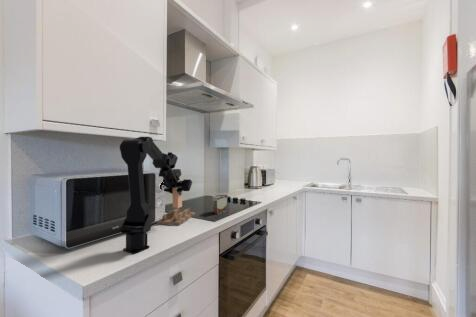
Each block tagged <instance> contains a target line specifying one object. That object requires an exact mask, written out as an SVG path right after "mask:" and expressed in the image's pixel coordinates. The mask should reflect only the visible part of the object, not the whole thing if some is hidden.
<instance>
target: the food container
mask: <svg viewBox="0 0 476 317" xmlns="http://www.w3.org/2000/svg"><path fill="white" fill-rule="evenodd" d="M211 198H212V199H211V201H212V203H213V213H214V214H215V215H220V214H222V212H223V213H225V212H228V211H227V209H228V208H227V207H228V198H229V196H228V194H215V195H212V197H211ZM219 213H220V214H219Z"/></svg>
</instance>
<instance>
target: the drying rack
mask: <svg viewBox="0 0 476 317" xmlns="http://www.w3.org/2000/svg"><path fill="white" fill-rule="evenodd" d="M181 208H182V207H180V208H174V209H173V210H171V211H169V212H167V213H165V214H163V215H162V216H161V219H159V220H157V221H156V224H157V225H169V226H170V225H171V226H181V225H182V224H184V223H186V222H187V221H188V220H190V219H191V218H192V217H194V216H195V215H196V212H194V211H191V207H188V208H186V209H184V210H182V211H181ZM193 215H194V216H193Z"/></svg>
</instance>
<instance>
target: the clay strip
mask: <svg viewBox="0 0 476 317" xmlns="http://www.w3.org/2000/svg"><path fill="white" fill-rule="evenodd" d="M177 189H178V187H176V188H172V193H173V194H172V209H177V208H182V207H183V194H182V195H180V194H179V193H178V192H177Z"/></svg>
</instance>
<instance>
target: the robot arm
mask: <svg viewBox="0 0 476 317" xmlns="http://www.w3.org/2000/svg"><path fill="white" fill-rule="evenodd" d="M119 152H120V155H121V156H120V157H121V159H122V160H123V161H124V163H125V164H126V165H127V166H126V167H127V174H128V175H127V177H128V187H129V188H128V191H129V200H130V201H129V202H130V205H129V207H128V209H127V210H126V211H125V212H126V216H125V218H124V221H123V223H122V225H121V227H120V232H121V235H123V234H125V247H124V248H123V249H122V251H125V252H127V253H130V254H137V253H139V252H141V251H145V250H146V249H149V248H150V245H148V233H149V231H151V228H152V222H153V213H152V205H151V204H150V203H149V204H148V203H147V202H146V195H145V194H146V193H145V183H144V180H145V179H144V169H143V168H144V167H143V164H144V161H145V160H146V158H147V156H149V158H150V159H151V160H152V165H153V166H154V168H156V169H159V173H158V177H162V179H163V182H164V183H163V182H162V183H161V185H160V189H161V191H164V192H165V193H168V194H169V193H170V194H172V195H173V193H172V188H176V187H178V189H177V192H178V193H179V194H180V195H182V196H183V192H189V191H191V188H192V185H193V181H192V179H191V178H190V179H187V178H186V179H185V178H183V180H180V177H181V176H182V171H181V169H179V168H175V167H176V164H177V162H178V156H177V155H176V154H174V153H173V152H172V151H171V152H170V151H169V152H167V153H164V152H162V151H161V149H160V147H159V146H157V144H156V143H155V142H154V139H153V137H152V136H138V137H135V138H131V139H123V140H122V142H120V143H119ZM162 185H164V186H162Z"/></svg>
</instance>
